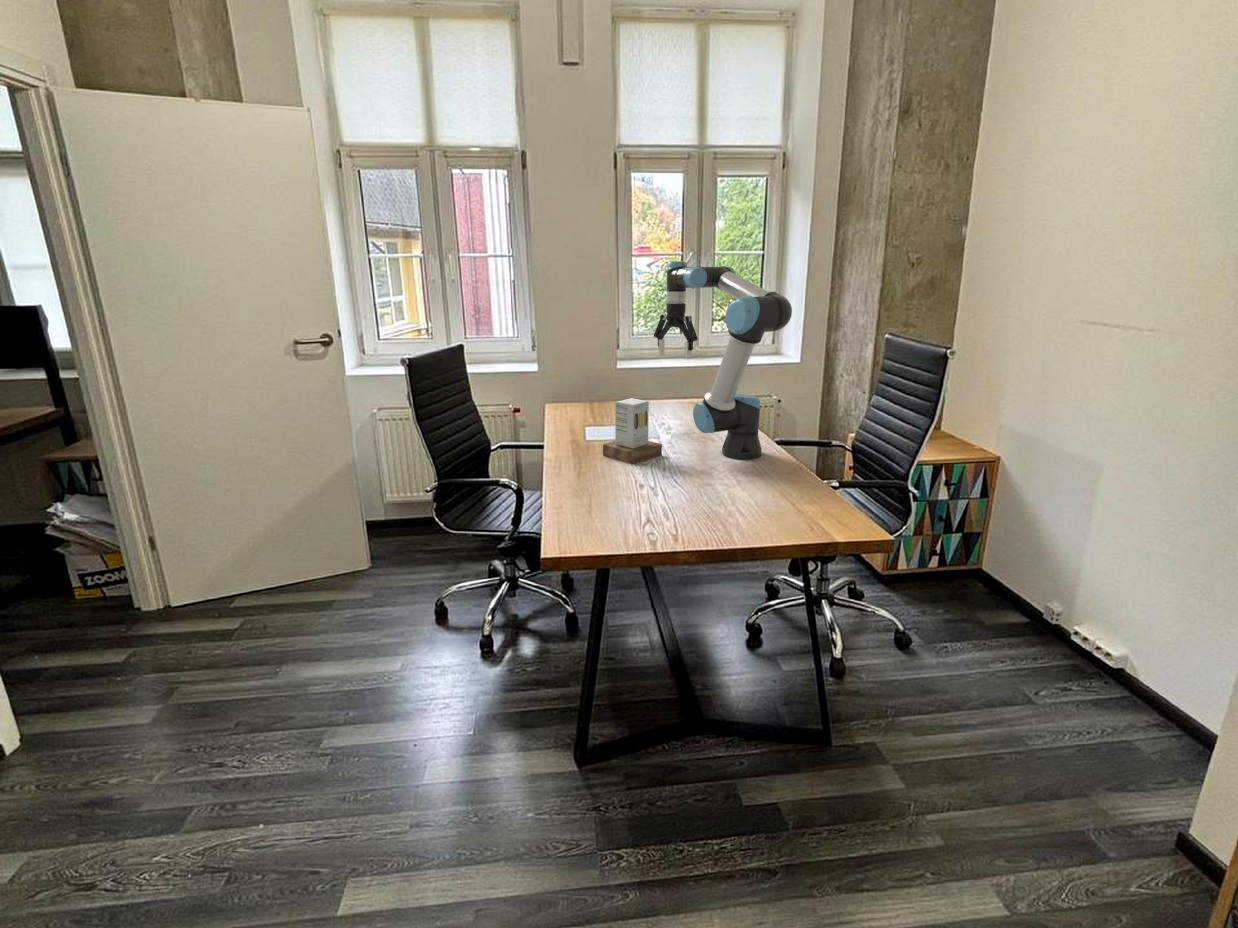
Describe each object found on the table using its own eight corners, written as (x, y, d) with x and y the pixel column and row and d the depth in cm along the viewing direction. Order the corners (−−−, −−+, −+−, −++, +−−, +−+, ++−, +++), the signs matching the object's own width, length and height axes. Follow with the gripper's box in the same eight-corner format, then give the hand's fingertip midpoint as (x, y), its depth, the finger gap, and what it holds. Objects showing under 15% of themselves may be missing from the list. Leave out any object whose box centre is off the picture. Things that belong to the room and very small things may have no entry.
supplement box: (633, 449, 240) (632, 405, 235) (614, 444, 246) (614, 401, 241) (649, 443, 247) (649, 400, 242) (630, 439, 253) (630, 397, 248)
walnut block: (661, 456, 248) (661, 444, 247) (633, 465, 238) (633, 452, 236) (631, 448, 259) (631, 436, 258) (602, 456, 248) (602, 444, 247)
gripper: (707, 303, 246) (705, 359, 253) (657, 300, 262) (656, 353, 269) (696, 304, 241) (694, 361, 247) (645, 301, 257) (644, 355, 263)
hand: (674, 357), depth 258 cm, fingers open, 13 cm apart
